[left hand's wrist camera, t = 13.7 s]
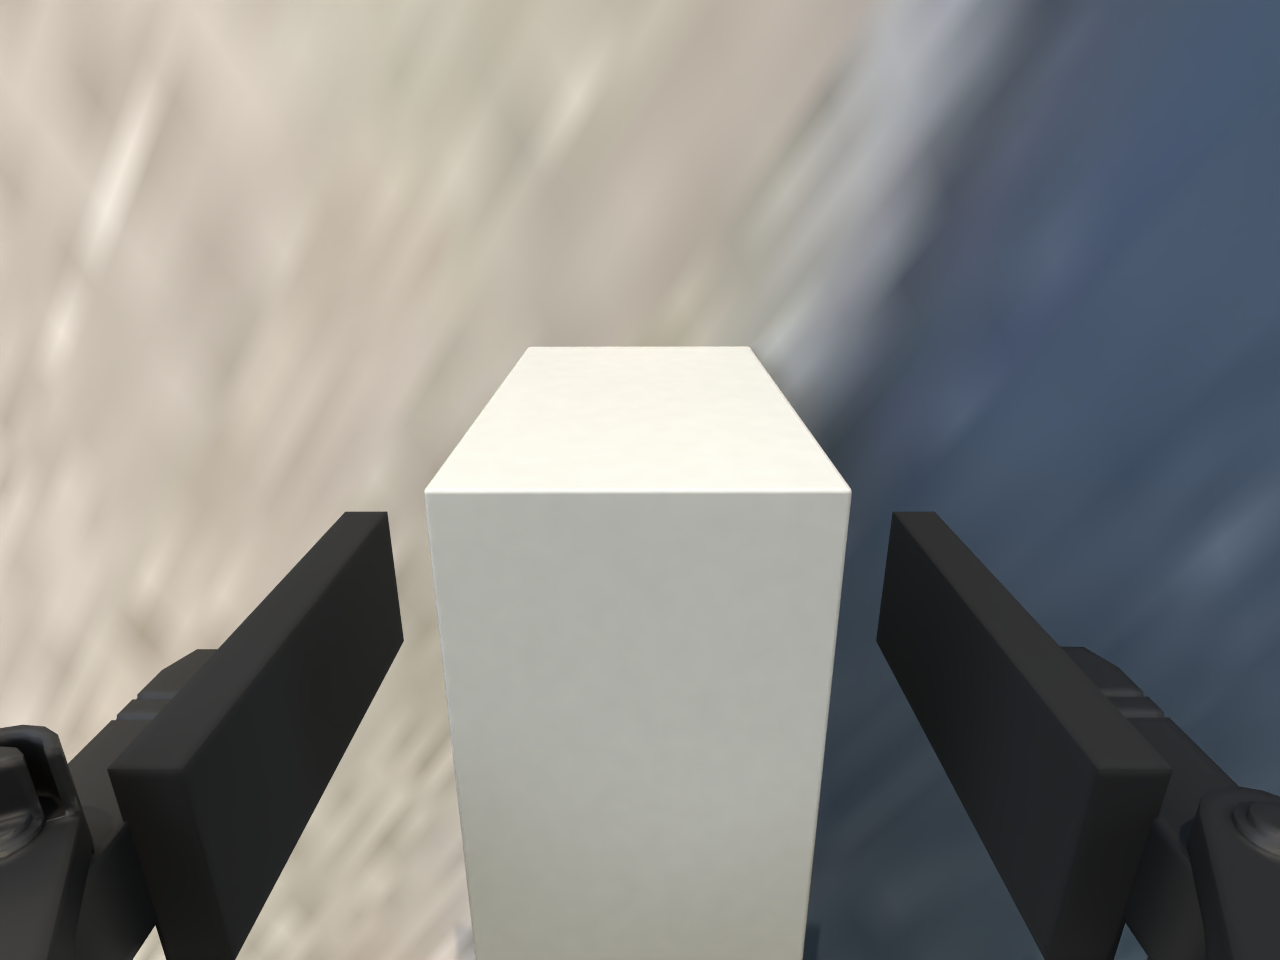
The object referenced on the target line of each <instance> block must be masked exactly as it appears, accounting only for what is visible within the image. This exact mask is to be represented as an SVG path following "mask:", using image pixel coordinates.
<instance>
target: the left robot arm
mask: <svg viewBox="0 0 1280 960" xmlns="http://www.w3.org/2000/svg"><path fill="white" fill-rule="evenodd" d="M403 641H404V639H403V631H402V623H401V615H400V608H399V600H398V592H397V584H396V577H395V569H394V561H393V553H392V546H391V538H390V530H389V522H388V514H387V512H345V513H344V514H343V515H342V516H341V517H340V518H339V519H338V520H337V521H336V523H335V524H334V525H333V526H332V527H331V528H330V529H329V530H328V531H327V532H326V533H325V534H324V535H323V537H322V538H321V539H320V540H319V541H318V542H317V543H316V544H315V545H314V546H313V547H312V548H311V549H310V551H309V552H308V553H307V554H306V555H305V556H304V557H303V558H302V559H301V560H300V561H299V562H298V563H297V565H296V566H295V567H294V568H293V569H292V570H291V571H290V572H289V573H288V574H287V575H286V576H285V577H284V579H283V580H282V581H281V582H280V583H279V584H278V585H277V586H276V587H275V588H274V589H273V590H272V592H271V593H270V594H269V595H268V596H267V597H266V598H265V599H264V600H263V601H262V602H261V603H260V604H259V606H258V607H257V608H256V609H255V610H254V611H253V612H252V613H251V614H250V615H249V616H248V617H247V618H246V620H245V621H244V622H243V623H242V624H241V625H240V626H239V627H238V628H237V629H236V630H235V631H234V632H233V634H232V635H231V636H230V637H229V638H228V639H227V640H226V641H225V642H224V643H223V644H222V645H221V646H220V648H219V649H197V650H195V651H194V652H192V653H190V654H188V655H187V656H185V657H183V658H182V659H180V660H178V661H177V662H175V663H173V664H172V665H170V666H168V667H167V668H165V669H163V670H162V671H161V672H160V673H159V674H158V675H157V676H156V677H155V678H154V679H153V680H152V681H151V682H150V683H149V684H148V685H147V686H146V687H145V688H144V689H143V690H142V691H141V692H140V693H139V694H138V695H137V696H138V697H137V699H136V700H132V701H131V702H130V703H129V704H128V705H127V706H126V707H125V708H124V709H123V710H122V711H121V712H120V713H119V714H118V715H117V719H116V720H111V721H110V722H109V723H108V724H107V725H106V726H105V727H104V728H103V729H102V730H101V731H100V732H99V733H98V734H97V735H96V736H95V737H94V738H93V739H92V740H91V741H90V742H89V743H88V744H87V745H86V746H85V747H84V748H83V749H82V750H81V751H80V752H79V753H78V754H77V755H76V756H75V757H74V758H73V759H72V760H71V761H70V762H69V763H68V764H67V761H66V758H65V755H64V752H63V749H62V746H61V743H60V740H59V737H58V734H56V733H54V732H53V731H51V730H49V729H48V728H46V727H43V726H31V725H18V726H12V727H5V728H0V960H133V958H134V957H135V955H136V953H137V952H138V950H139V949H140V947H141V946H142V944H143V943H144V941H145V940H146V938H147V937H148V935H149V934H150V932H151V931H152V929H153V928H154V926H155V925H156V928H157V931H158V934H159V938H160V941H161V944H162V947H163V950H164V954H165V957H166V960H235V959H236V957H237V955H238V953H239V951H240V949H241V948H242V946H243V944H244V942H245V940H246V938H247V936H248V934H249V932H250V931H251V929H252V927H253V925H254V923H255V921H256V919H257V917H258V915H259V914H260V912H261V910H262V908H263V906H264V904H265V902H266V900H267V898H268V897H269V895H270V893H271V891H272V889H273V887H274V885H275V883H276V881H277V880H278V878H279V876H280V874H281V872H282V870H283V868H284V866H285V864H286V863H287V861H288V859H289V857H290V855H291V853H292V851H293V849H294V847H295V846H296V844H297V842H298V840H299V838H300V836H301V834H302V832H303V830H304V829H305V827H306V825H307V823H308V821H309V819H310V817H311V815H312V813H313V812H314V810H315V808H316V806H317V804H318V802H319V800H320V798H321V796H322V794H323V793H324V791H325V789H326V787H327V785H328V783H329V781H330V779H331V777H332V776H333V774H334V772H335V770H336V768H337V766H338V764H339V762H340V760H341V759H342V757H343V755H344V753H345V751H346V749H347V747H348V745H349V743H350V742H351V740H352V738H353V736H354V734H355V732H356V730H357V728H358V726H359V725H360V723H361V721H362V719H363V717H364V715H365V713H366V711H367V709H368V708H369V706H370V704H371V702H372V700H373V698H374V696H375V694H376V692H377V691H378V689H379V687H380V685H381V683H382V681H383V679H384V677H385V675H386V674H387V672H388V670H389V668H390V666H391V664H392V662H393V660H394V658H395V657H396V655H397V653H398V651H399V649H400V647H401V645H402V643H403ZM876 641H877V643H878V645H879V647H880V649H881V651H882V653H883V655H884V657H885V658H886V660H887V662H888V664H889V666H890V668H891V670H892V672H893V674H894V675H895V677H896V679H897V681H898V683H899V685H900V687H901V689H902V691H903V692H904V694H905V696H906V698H907V700H908V702H909V704H910V706H911V708H912V709H913V711H914V713H915V715H916V717H917V719H918V721H919V723H920V725H921V726H922V728H923V730H924V732H925V734H926V736H927V738H928V740H929V742H930V743H931V745H932V747H933V749H934V751H935V753H936V755H937V757H938V759H939V761H940V762H941V764H942V766H943V768H944V770H945V772H946V774H947V776H948V778H949V779H950V781H951V783H952V785H953V787H954V789H955V791H956V793H957V795H958V796H959V798H960V800H961V802H962V804H963V806H964V808H965V810H966V812H967V813H968V815H969V817H970V819H971V821H972V823H973V825H974V827H975V829H976V830H977V832H978V834H979V836H980V838H981V840H982V842H983V844H984V846H985V847H986V849H987V851H988V853H989V855H990V857H991V859H992V861H993V863H994V864H995V866H996V868H997V870H998V872H999V874H1000V876H1001V878H1002V880H1003V881H1004V883H1005V885H1006V887H1007V889H1008V891H1009V893H1010V895H1011V897H1012V898H1013V900H1014V902H1015V904H1016V906H1017V908H1018V910H1019V912H1020V914H1021V915H1022V917H1023V919H1024V921H1025V923H1026V925H1027V927H1028V929H1029V931H1030V933H1031V934H1032V936H1033V938H1034V940H1035V942H1036V944H1037V946H1038V948H1039V950H1040V951H1041V953H1042V955H1043V957H1044V959H1045V960H1114V957H1115V954H1116V950H1117V947H1118V944H1119V941H1120V938H1121V934H1122V931H1123V928H1124V925H1125V922H1126V924H1127V925H1128V927H1129V928H1130V930H1131V931H1132V933H1133V934H1134V936H1135V937H1136V939H1137V940H1138V942H1139V943H1140V945H1141V946H1142V948H1143V949H1144V951H1145V952H1146V954H1147V955H1148V958H1147V960H1280V797H1279V796H1276V795H1273V794H1271V793H1268V792H1265V791H1261V790H1255V789H1249V788H1244V787H1239V786H1238V785H1237V784H1236V783H1235V782H1234V781H1233V780H1232V779H1231V778H1230V777H1229V776H1228V775H1227V774H1226V773H1225V772H1224V771H1223V770H1222V769H1221V768H1220V767H1219V766H1218V765H1217V764H1216V763H1214V762H1213V761H1212V760H1211V759H1210V758H1209V757H1208V756H1207V755H1206V754H1205V753H1204V752H1203V751H1202V750H1201V749H1200V748H1199V747H1198V746H1197V745H1196V744H1195V743H1194V742H1193V741H1192V740H1191V739H1190V738H1189V737H1188V736H1187V735H1186V734H1185V733H1184V732H1183V731H1182V730H1181V729H1180V728H1179V727H1178V726H1177V725H1176V724H1175V723H1174V722H1173V721H1172V720H1171V719H1170V718H1165V717H1164V712H1163V711H1162V710H1161V709H1160V708H1159V707H1158V706H1157V705H1156V704H1155V703H1154V702H1153V701H1152V700H1151V699H1150V698H1149V697H1144V695H1143V691H1142V690H1141V689H1140V688H1139V687H1138V686H1137V685H1136V684H1135V683H1134V682H1133V681H1132V680H1131V679H1130V678H1129V677H1128V676H1127V675H1126V674H1124V673H1123V672H1122V671H1121V670H1120V669H1119V668H1118V667H1117V666H1115V665H1113V664H1111V663H1110V662H1108V661H1106V660H1105V659H1103V658H1101V657H1100V656H1098V655H1096V654H1095V653H1093V652H1091V651H1089V650H1088V649H1086V648H1084V647H1060V646H1059V645H1058V644H1057V643H1056V642H1055V641H1054V640H1053V639H1052V638H1051V637H1050V636H1049V635H1048V634H1047V632H1046V631H1045V630H1044V629H1043V628H1042V627H1041V626H1040V625H1039V624H1038V623H1037V622H1036V621H1035V620H1034V618H1033V617H1032V616H1031V615H1030V614H1029V613H1028V612H1027V611H1026V610H1025V609H1024V608H1023V607H1022V606H1021V604H1020V603H1019V602H1018V601H1017V600H1016V599H1015V598H1014V597H1013V596H1012V595H1011V594H1010V593H1009V592H1008V590H1007V589H1006V588H1005V587H1004V586H1003V585H1002V584H1001V583H1000V582H999V581H998V580H997V579H996V578H995V576H994V575H993V574H992V573H991V572H990V571H989V570H988V569H987V568H986V567H985V566H984V565H983V564H982V562H981V561H980V560H979V559H978V558H977V557H976V556H975V555H974V554H973V553H972V552H971V551H970V549H969V548H968V547H967V546H966V545H965V544H964V543H963V542H962V541H961V540H960V539H959V538H958V537H957V535H956V534H955V533H954V532H953V531H952V530H951V529H950V528H949V527H948V526H947V525H946V524H945V523H944V521H943V520H942V519H941V518H940V517H939V516H938V515H937V514H936V513H935V512H893V514H892V522H891V530H890V538H889V545H888V553H887V561H886V569H885V577H884V584H883V592H882V600H881V608H880V615H879V623H878V631H877V639H876Z"/></svg>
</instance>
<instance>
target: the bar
mask: <svg viewBox="0 0 1280 960" xmlns="http://www.w3.org/2000/svg"><path fill="white" fill-rule="evenodd" d="M851 494H852V491H851V489H850V487H849V486H848V484H847V483H846V482H845V480H844V479H843V477H842V476H841V475H840V473H839V472H838V470H837V469H836V468H835V466H834V465H833V463H832V462H831V461H830V459H829V458H828V456H827V455H826V454H825V452H824V451H823V449H822V448H821V447H820V445H819V444H818V442H817V441H816V440H815V438H814V437H813V435H812V434H811V433H810V431H809V430H808V428H807V427H806V426H805V424H804V423H803V421H802V420H801V419H800V417H799V416H798V414H797V413H796V412H795V410H794V409H793V407H792V406H791V405H790V403H789V402H788V400H787V399H786V398H785V396H784V395H783V393H782V392H781V391H780V389H779V388H778V386H777V385H776V384H775V382H774V381H773V379H772V378H771V377H770V375H769V374H768V372H767V371H766V370H765V368H764V367H763V365H762V364H761V363H760V361H759V360H758V358H757V357H756V356H755V354H754V353H753V351H752V350H751V349H750V347H529V348H528V349H527V350H526V352H525V353H524V354H523V356H522V357H521V358H520V360H519V361H518V363H517V364H516V365H515V367H514V368H513V369H512V371H511V372H510V373H509V375H508V376H507V378H506V379H505V380H504V382H503V383H502V384H501V386H500V387H499V389H498V390H497V391H496V393H495V394H494V395H493V397H492V398H491V400H490V401H489V402H488V404H487V405H486V406H485V408H484V409H483V411H482V412H481V413H480V415H479V416H478V417H477V419H476V420H475V422H474V423H473V424H472V426H471V427H470V428H469V430H468V431H467V433H466V434H465V435H464V437H463V438H462V439H461V441H460V442H459V444H458V445H457V446H456V448H455V449H454V450H453V452H452V453H451V455H450V456H449V457H448V459H447V460H446V461H445V463H444V464H443V466H442V467H441V468H440V470H439V471H438V472H437V474H436V475H435V476H434V478H433V479H432V481H431V482H430V483H429V485H428V486H427V487H426V489H425V491H424V497H425V506H426V515H427V524H428V533H429V542H430V551H431V560H432V569H433V578H434V587H435V596H436V605H437V614H438V623H439V632H440V641H441V650H442V659H443V668H444V677H445V686H446V696H447V705H448V714H449V723H450V732H451V741H452V750H453V759H454V768H455V777H456V786H457V795H458V804H459V813H460V822H461V831H462V840H463V849H464V858H465V867H466V876H467V886H468V895H469V904H470V913H471V922H472V931H473V940H474V949H475V958H476V960H803V950H804V941H805V931H806V922H807V912H808V903H809V893H810V884H811V874H812V865H813V855H814V846H815V836H816V827H817V817H818V808H819V798H820V789H821V779H822V770H823V760H824V751H825V741H826V732H827V722H828V713H829V703H830V694H831V684H832V675H833V665H834V656H835V646H836V637H837V627H838V618H839V608H840V599H841V589H842V580H843V570H844V561H845V551H846V542H847V532H848V523H849V513H850V504H851Z"/></svg>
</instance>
